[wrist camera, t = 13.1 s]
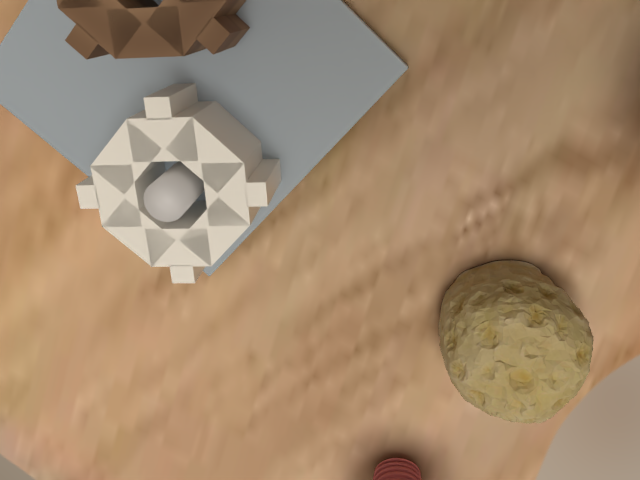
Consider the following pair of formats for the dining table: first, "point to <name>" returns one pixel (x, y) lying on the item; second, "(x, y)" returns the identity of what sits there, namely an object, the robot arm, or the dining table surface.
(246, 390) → the dining table surface
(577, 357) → the decorative item
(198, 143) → the gear
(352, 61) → the gear board
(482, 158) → the dining table surface
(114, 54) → the walnut gear
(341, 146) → the dining table surface
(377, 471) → the light bulb
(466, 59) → the dining table surface
